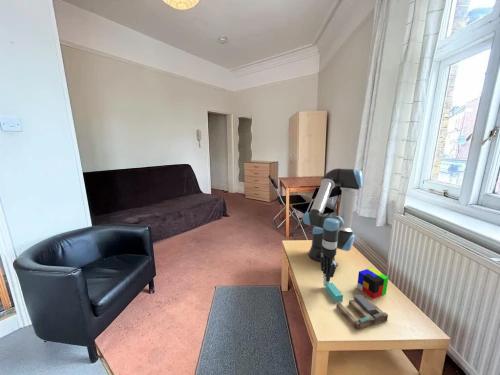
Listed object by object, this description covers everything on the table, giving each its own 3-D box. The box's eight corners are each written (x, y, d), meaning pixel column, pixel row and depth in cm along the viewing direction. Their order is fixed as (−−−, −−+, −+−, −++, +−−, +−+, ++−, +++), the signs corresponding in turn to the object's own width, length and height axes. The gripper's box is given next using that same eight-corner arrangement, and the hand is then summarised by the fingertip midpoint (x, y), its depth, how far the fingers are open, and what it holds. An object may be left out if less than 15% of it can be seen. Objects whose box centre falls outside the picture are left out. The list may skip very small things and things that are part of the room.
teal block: (325, 289, 116) (325, 283, 115) (331, 288, 117) (332, 282, 116) (335, 302, 106) (335, 296, 106) (342, 301, 107) (343, 295, 106)
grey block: (353, 302, 107) (354, 295, 106) (360, 301, 108) (361, 294, 107) (367, 317, 97) (368, 310, 96) (375, 316, 98) (376, 309, 97)
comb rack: (336, 308, 103) (336, 301, 102) (364, 300, 108) (365, 294, 107) (356, 330, 90) (357, 323, 90) (387, 320, 95) (388, 313, 95)
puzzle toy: (356, 287, 118) (358, 271, 116) (369, 282, 122) (371, 267, 120) (373, 299, 109) (375, 282, 107) (385, 293, 113) (388, 277, 111)
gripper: (316, 242, 117) (313, 279, 122) (331, 253, 105) (327, 294, 110) (327, 240, 120) (324, 277, 124) (343, 251, 107) (339, 291, 112)
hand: (325, 285), depth 117 cm, fingers closed
